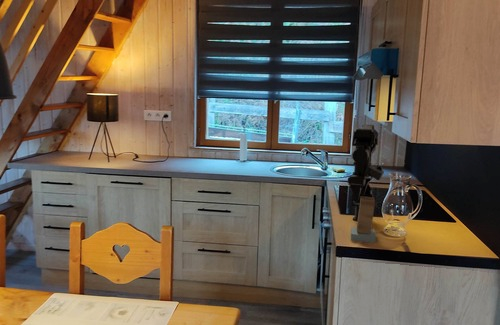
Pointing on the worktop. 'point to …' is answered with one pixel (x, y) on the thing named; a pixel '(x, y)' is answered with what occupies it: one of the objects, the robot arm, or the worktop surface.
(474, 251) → the worktop surface
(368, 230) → the walnut pillar
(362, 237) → the base block
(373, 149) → the robot arm
